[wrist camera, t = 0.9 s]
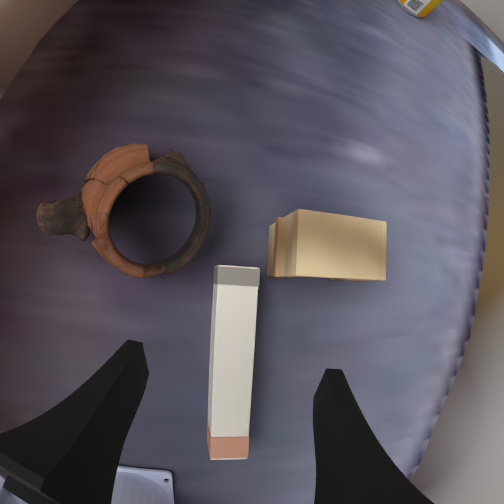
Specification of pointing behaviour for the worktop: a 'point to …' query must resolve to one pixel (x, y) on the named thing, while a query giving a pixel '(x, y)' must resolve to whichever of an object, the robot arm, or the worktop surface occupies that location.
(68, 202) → the pottery mug
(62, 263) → the worktop surface
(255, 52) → the worktop surface
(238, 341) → the white bar
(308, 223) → the tan wooden brick
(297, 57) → the worktop surface
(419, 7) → the pill bottle
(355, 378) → the worktop surface
